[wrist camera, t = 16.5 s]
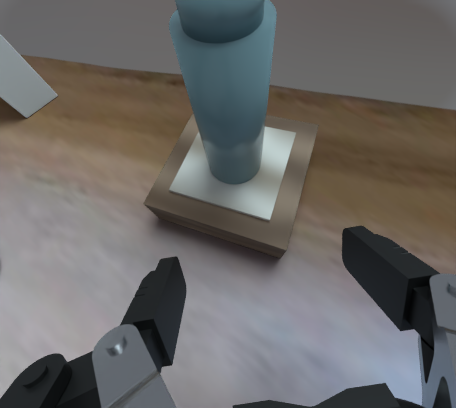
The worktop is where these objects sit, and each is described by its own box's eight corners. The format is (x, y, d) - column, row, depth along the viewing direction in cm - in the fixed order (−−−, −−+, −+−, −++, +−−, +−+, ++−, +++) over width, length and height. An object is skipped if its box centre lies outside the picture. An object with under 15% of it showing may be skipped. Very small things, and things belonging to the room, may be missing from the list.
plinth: (280, 258, 21) (287, 249, 17) (159, 218, 25) (141, 202, 21) (309, 148, 26) (319, 122, 22) (205, 126, 29) (198, 99, 25)
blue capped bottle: (251, 190, 20) (259, 16, 8) (200, 176, 21) (134, 3, 9) (267, 147, 22) (294, -51, 9) (219, 135, 23) (187, -56, 10)
